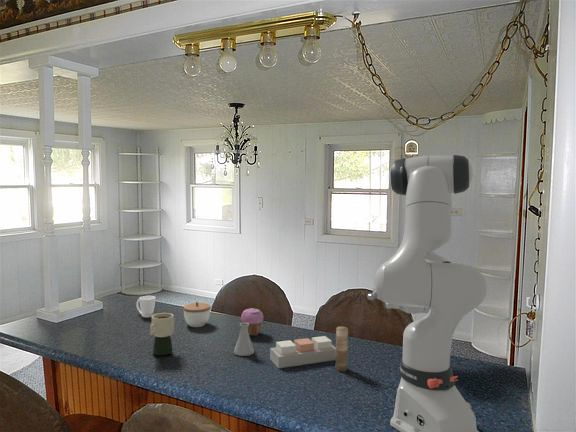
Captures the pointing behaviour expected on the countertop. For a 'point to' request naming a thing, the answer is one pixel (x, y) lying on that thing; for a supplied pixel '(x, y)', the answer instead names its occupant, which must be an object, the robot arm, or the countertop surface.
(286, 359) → the keypad bezel
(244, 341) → the flask
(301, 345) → the terracotta key
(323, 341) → the ivory key
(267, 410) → the countertop surface
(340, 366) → the tan wooden cylinder
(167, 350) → the character mug
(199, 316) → the lidded jar
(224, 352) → the countertop surface
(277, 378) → the countertop surface
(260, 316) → the cupcake
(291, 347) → the ivory key
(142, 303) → the cup
